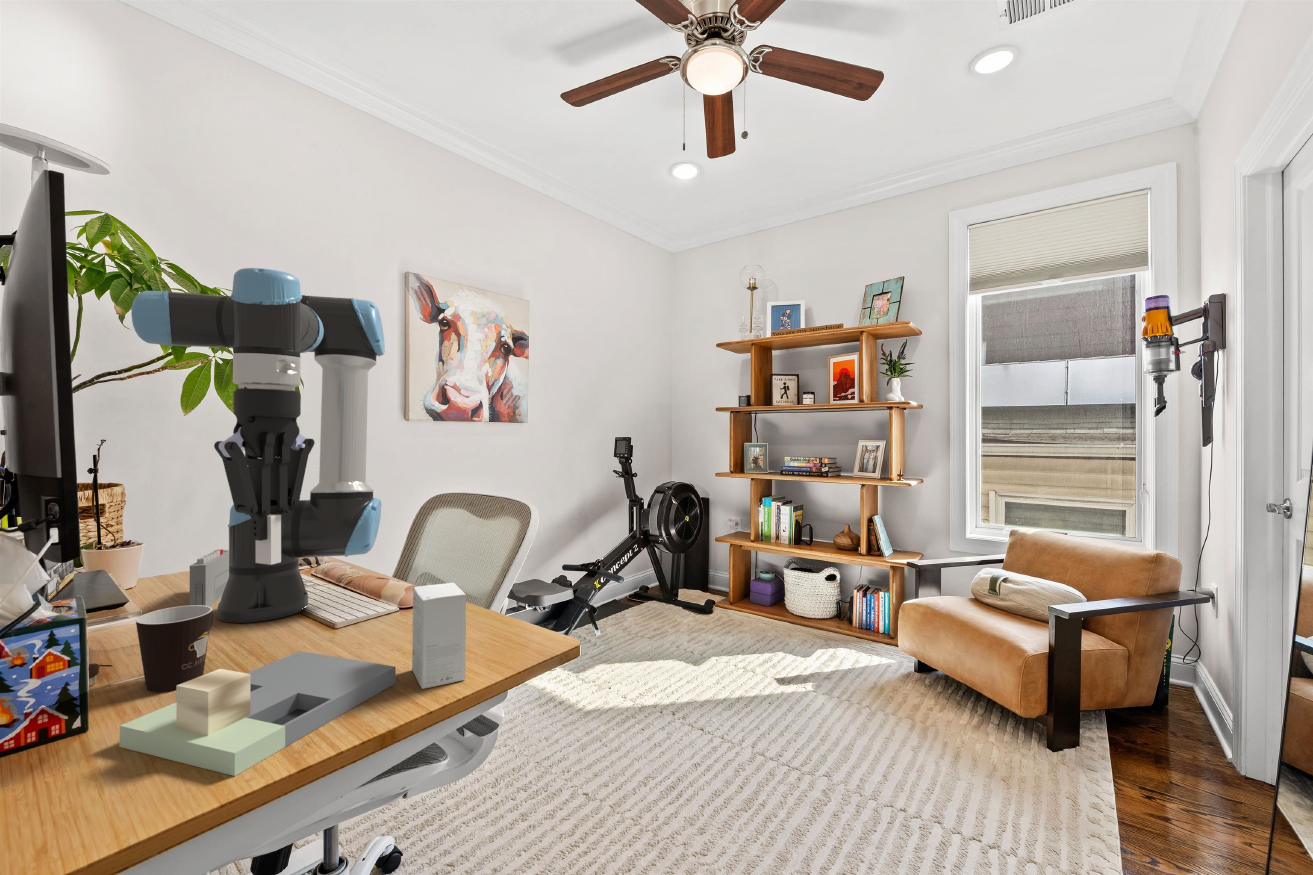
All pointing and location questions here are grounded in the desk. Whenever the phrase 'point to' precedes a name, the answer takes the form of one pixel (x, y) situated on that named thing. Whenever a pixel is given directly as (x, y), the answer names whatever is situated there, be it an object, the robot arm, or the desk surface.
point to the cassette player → (209, 578)
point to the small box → (439, 634)
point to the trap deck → (265, 713)
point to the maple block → (212, 701)
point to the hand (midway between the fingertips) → (268, 562)
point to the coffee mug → (173, 645)
